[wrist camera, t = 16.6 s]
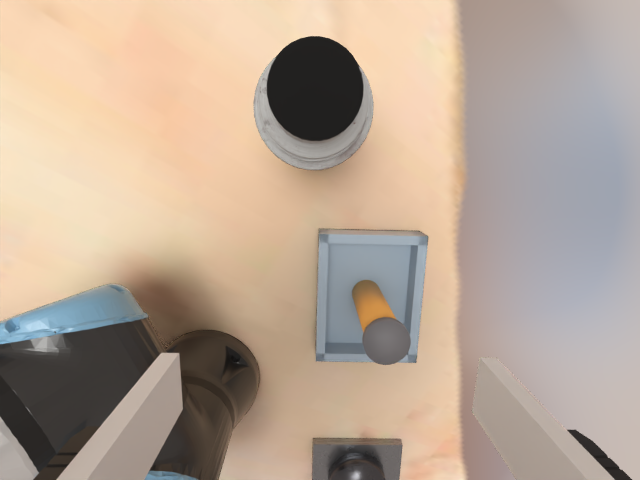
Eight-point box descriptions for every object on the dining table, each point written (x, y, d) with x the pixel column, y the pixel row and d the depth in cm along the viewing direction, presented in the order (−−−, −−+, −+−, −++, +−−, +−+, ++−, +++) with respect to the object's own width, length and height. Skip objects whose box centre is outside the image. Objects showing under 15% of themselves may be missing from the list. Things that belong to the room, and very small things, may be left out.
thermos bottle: (270, 142, 44) (200, 100, 17) (309, 92, 43) (301, -44, 15) (318, 181, 45) (324, 201, 18) (356, 133, 44) (427, 76, 16)
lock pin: (348, 308, 48) (362, 364, 34) (349, 276, 47) (365, 321, 33) (381, 309, 48) (408, 365, 35) (383, 277, 47) (412, 321, 34)
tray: (315, 346, 50) (315, 361, 46) (318, 228, 46) (319, 233, 43) (408, 348, 50) (416, 362, 47) (419, 230, 47) (428, 236, 43)
